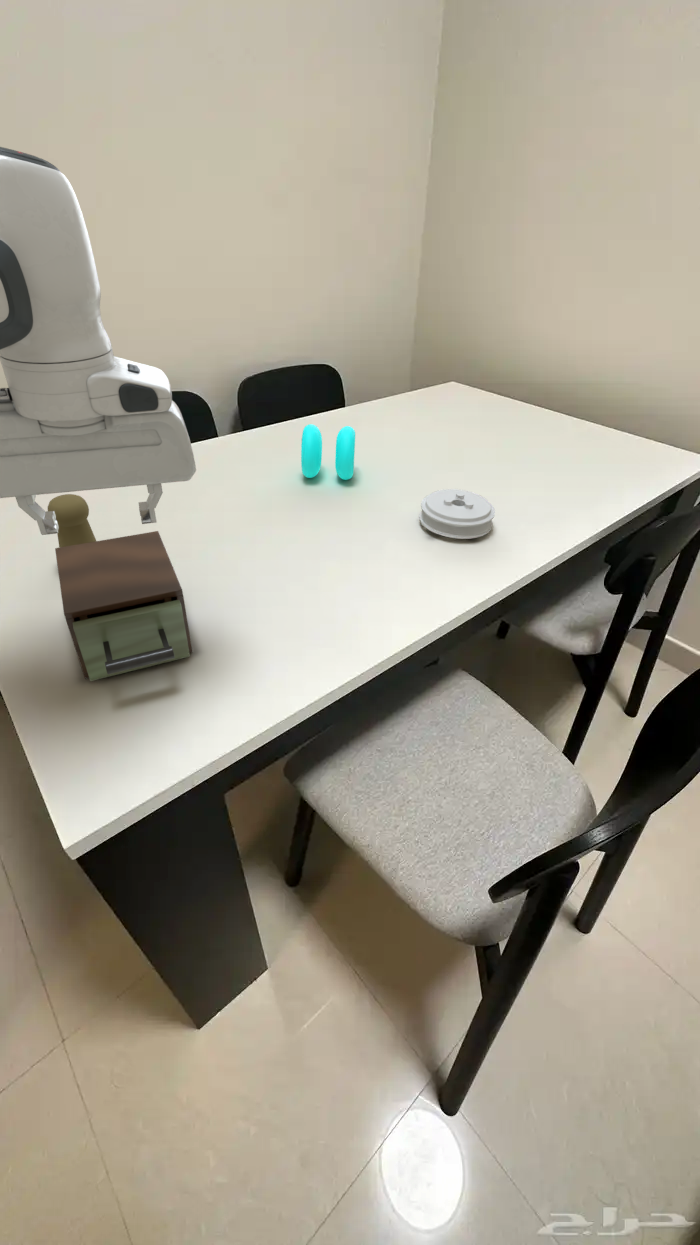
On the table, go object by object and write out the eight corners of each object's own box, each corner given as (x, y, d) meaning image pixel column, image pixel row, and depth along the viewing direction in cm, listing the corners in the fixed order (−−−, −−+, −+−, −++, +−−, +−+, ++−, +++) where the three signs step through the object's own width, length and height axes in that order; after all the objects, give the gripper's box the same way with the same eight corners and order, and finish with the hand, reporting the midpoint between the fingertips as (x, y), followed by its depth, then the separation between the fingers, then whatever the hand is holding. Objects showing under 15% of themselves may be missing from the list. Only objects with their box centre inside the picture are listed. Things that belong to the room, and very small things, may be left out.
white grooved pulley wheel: (471, 505, 108) (476, 480, 105) (504, 539, 99) (510, 513, 96) (408, 512, 105) (411, 486, 102) (435, 547, 96) (439, 520, 92)
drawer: (199, 682, 67) (191, 630, 62) (95, 710, 63) (77, 656, 58) (167, 596, 80) (158, 547, 75) (79, 614, 76) (63, 564, 71)
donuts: (352, 488, 111) (355, 437, 105) (300, 486, 111) (300, 434, 105) (353, 467, 119) (356, 419, 113) (305, 465, 119) (304, 416, 113)
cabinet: (192, 652, 73) (182, 589, 67) (85, 678, 68) (63, 614, 62) (168, 589, 83) (158, 530, 77) (74, 609, 78) (54, 548, 72)
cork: (114, 563, 88) (98, 496, 81) (80, 581, 83) (60, 512, 77) (87, 551, 90) (70, 485, 83) (53, 568, 86) (31, 500, 79)
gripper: (-80, 404, 45) (-19, 555, 54) (187, 390, 51) (205, 529, 60) (-63, 380, 50) (-9, 523, 59) (180, 370, 56) (197, 502, 64)
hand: (100, 526), depth 59 cm, fingers open, 8 cm apart
